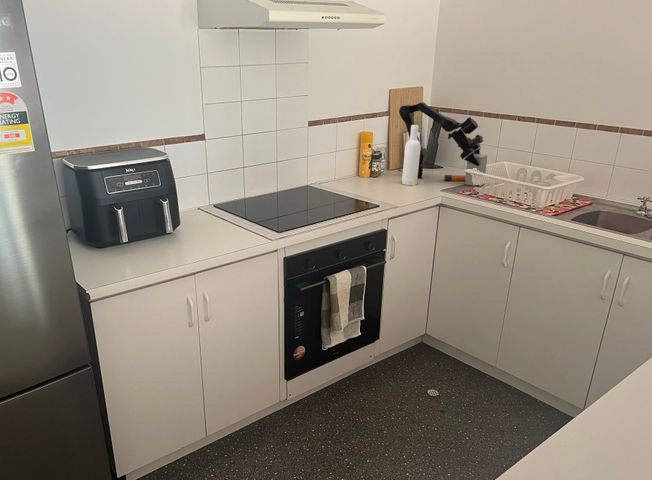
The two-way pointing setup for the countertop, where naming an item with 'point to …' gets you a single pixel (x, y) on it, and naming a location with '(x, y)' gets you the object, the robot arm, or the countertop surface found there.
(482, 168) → the cosmetic box
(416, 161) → the bottle
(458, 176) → the orange marker
